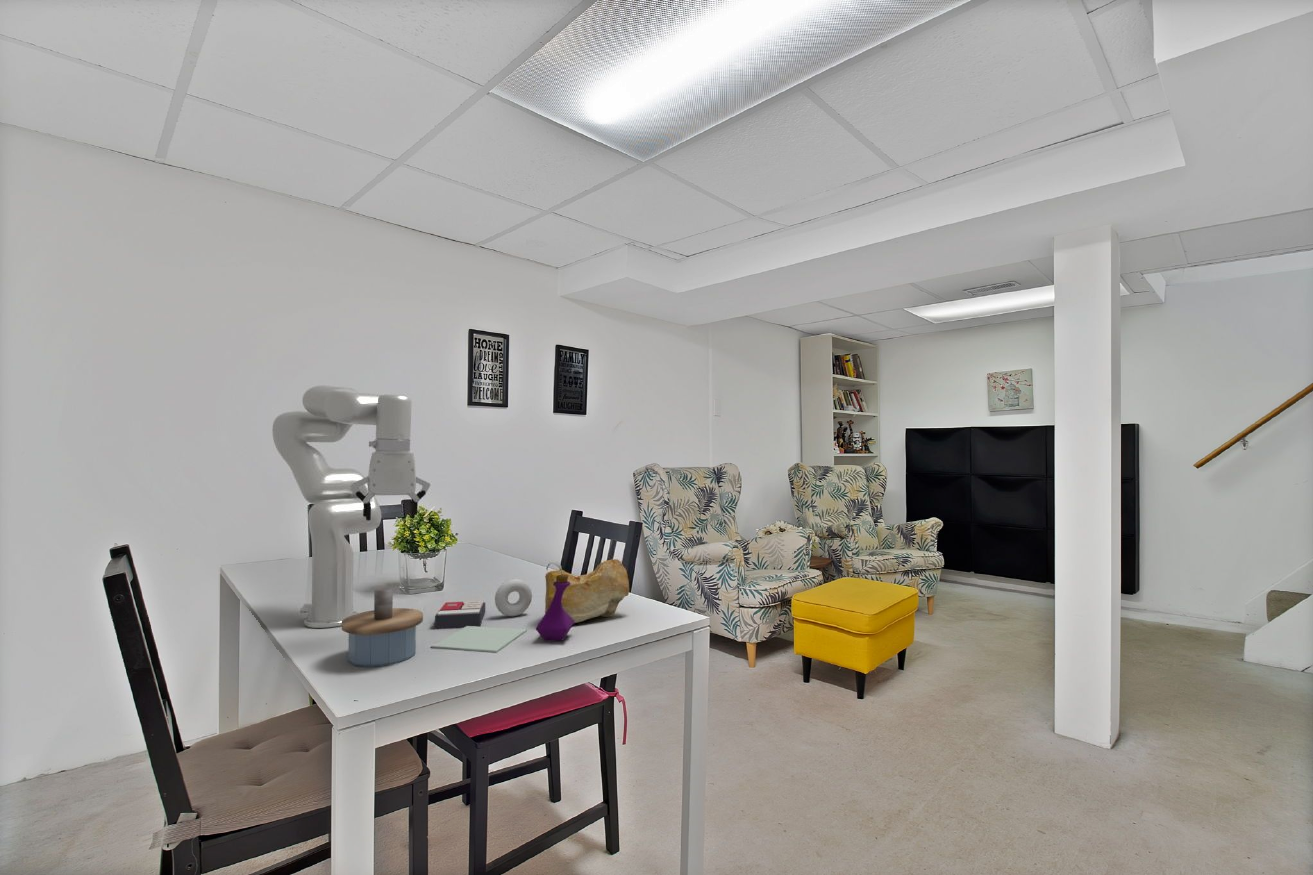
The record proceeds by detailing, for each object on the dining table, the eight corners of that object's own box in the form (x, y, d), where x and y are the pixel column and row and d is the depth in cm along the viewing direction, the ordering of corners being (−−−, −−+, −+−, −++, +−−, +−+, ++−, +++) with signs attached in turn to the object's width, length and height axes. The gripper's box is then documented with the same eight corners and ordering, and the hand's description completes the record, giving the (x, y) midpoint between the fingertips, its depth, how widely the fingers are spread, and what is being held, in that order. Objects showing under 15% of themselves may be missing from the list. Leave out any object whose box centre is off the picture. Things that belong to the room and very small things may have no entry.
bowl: (335, 664, 125) (335, 630, 125) (376, 644, 138) (376, 613, 138) (390, 668, 123) (391, 634, 123) (427, 648, 135) (427, 616, 135)
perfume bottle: (574, 634, 146) (574, 559, 146) (567, 643, 138) (567, 565, 139) (544, 633, 147) (544, 558, 147) (535, 642, 139) (535, 564, 140)
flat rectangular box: (485, 599, 167) (480, 610, 152) (485, 615, 167) (480, 627, 152) (444, 601, 165) (434, 612, 150) (443, 617, 165) (434, 630, 150)
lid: (323, 632, 124) (324, 596, 124) (374, 611, 140) (375, 580, 140) (393, 636, 121) (393, 600, 121) (437, 615, 137) (437, 583, 137)
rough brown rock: (611, 606, 175) (608, 554, 176) (636, 615, 160) (632, 558, 161) (532, 620, 164) (529, 564, 165) (551, 630, 149) (547, 569, 150)
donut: (496, 620, 158) (496, 581, 158) (493, 617, 161) (493, 579, 161) (533, 615, 163) (533, 578, 163) (529, 612, 166) (529, 575, 166)
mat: (430, 647, 136) (430, 645, 136) (466, 627, 151) (466, 625, 151) (496, 652, 132) (496, 650, 132) (526, 631, 148) (526, 629, 148)
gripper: (353, 446, 135) (351, 522, 135) (434, 448, 145) (431, 519, 145) (350, 445, 142) (348, 518, 142) (428, 447, 151) (425, 515, 151)
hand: (390, 518), depth 143 cm, fingers open, 9 cm apart
